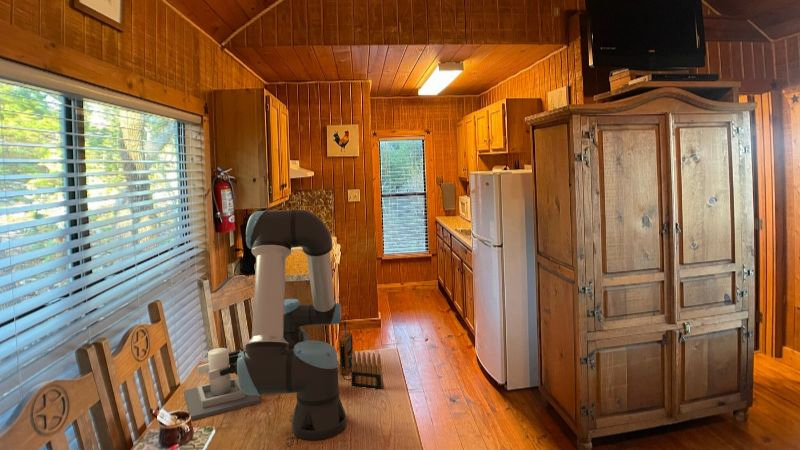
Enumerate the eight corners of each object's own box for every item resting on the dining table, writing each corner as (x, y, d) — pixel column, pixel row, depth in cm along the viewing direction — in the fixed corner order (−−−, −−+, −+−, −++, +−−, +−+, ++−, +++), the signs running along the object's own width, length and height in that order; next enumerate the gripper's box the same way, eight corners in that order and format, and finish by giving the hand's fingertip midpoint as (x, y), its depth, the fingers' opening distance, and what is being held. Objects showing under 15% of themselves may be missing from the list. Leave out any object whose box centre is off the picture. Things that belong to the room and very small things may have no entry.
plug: (232, 392, 149) (229, 352, 148) (212, 396, 146) (209, 356, 145) (229, 384, 154) (226, 346, 153) (209, 389, 151) (206, 350, 150)
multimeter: (364, 381, 160) (362, 324, 158) (336, 379, 162) (334, 323, 160) (375, 364, 174) (373, 311, 172) (349, 363, 176) (347, 310, 174)
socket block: (260, 402, 147) (259, 392, 146) (190, 420, 137) (189, 410, 137) (246, 379, 164) (246, 370, 164) (184, 393, 154) (183, 384, 154)
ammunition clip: (383, 387, 155) (382, 352, 154) (381, 390, 153) (380, 354, 152) (353, 383, 158) (352, 349, 157) (351, 386, 156) (350, 351, 155)
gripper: (285, 368, 157) (220, 393, 140) (253, 355, 170) (190, 377, 152) (283, 346, 156) (218, 369, 139) (252, 335, 169) (188, 354, 151)
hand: (203, 373), depth 146 cm, fingers closed on plug, 6 cm apart
